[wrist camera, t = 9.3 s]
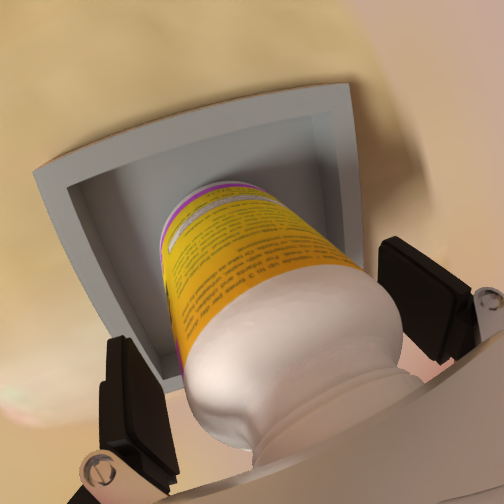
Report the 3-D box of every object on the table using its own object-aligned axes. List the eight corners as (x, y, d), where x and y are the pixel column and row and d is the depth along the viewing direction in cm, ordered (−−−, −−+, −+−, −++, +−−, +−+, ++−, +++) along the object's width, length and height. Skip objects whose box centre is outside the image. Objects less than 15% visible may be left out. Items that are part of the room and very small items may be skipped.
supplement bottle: (131, 230, 15) (146, 519, 4) (246, 151, 15) (494, 302, 4) (206, 316, 18) (294, 533, 7) (302, 251, 18) (466, 423, 7)
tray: (49, 160, 12) (32, 171, 10) (321, 83, 15) (348, 82, 13) (149, 368, 19) (152, 397, 17) (343, 297, 22) (363, 317, 20)
